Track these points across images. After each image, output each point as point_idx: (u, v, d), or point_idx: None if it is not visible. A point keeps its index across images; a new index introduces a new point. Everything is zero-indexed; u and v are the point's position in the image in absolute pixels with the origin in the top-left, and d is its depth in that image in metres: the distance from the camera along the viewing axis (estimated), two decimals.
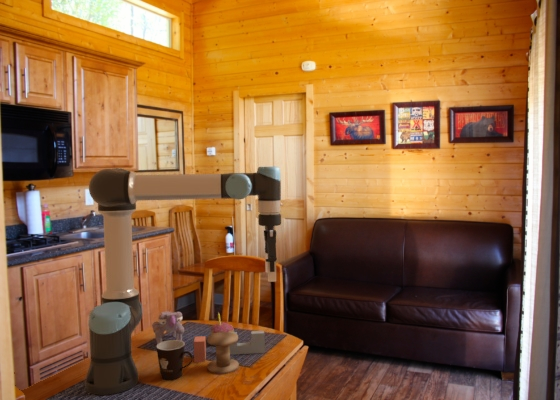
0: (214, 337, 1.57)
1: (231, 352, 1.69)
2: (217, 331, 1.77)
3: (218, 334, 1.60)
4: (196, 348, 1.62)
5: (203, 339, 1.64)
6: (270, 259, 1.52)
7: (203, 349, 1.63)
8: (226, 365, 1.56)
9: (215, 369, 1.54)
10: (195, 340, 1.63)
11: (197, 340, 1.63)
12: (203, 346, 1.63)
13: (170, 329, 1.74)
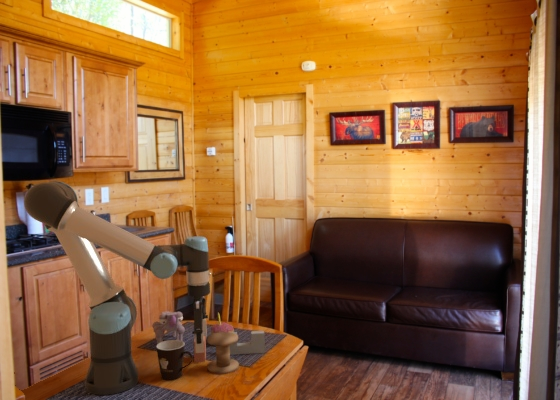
0: (214, 337, 1.57)
1: (231, 352, 1.69)
2: (217, 331, 1.77)
3: (218, 334, 1.60)
4: None
5: None
6: (195, 332, 1.54)
7: None
8: (226, 365, 1.56)
9: (215, 369, 1.54)
10: None
11: None
12: None
13: (170, 329, 1.74)
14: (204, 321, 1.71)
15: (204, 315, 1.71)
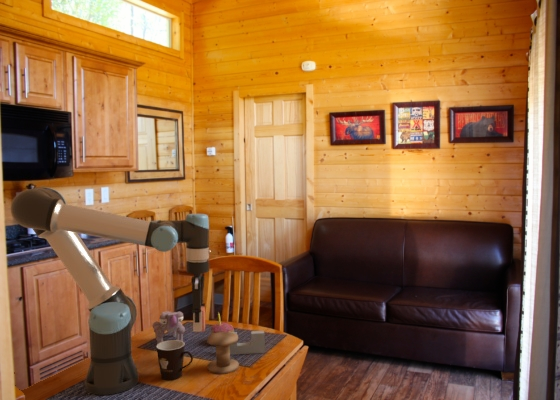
0: (214, 337, 1.57)
1: (231, 352, 1.69)
2: (217, 331, 1.77)
3: (218, 334, 1.60)
4: None
5: (202, 309, 1.64)
6: (194, 311, 1.58)
7: (202, 319, 1.62)
8: (226, 365, 1.56)
9: (215, 369, 1.54)
10: None
11: None
12: (202, 316, 1.62)
13: (171, 329, 1.74)
14: None
15: (201, 300, 1.67)
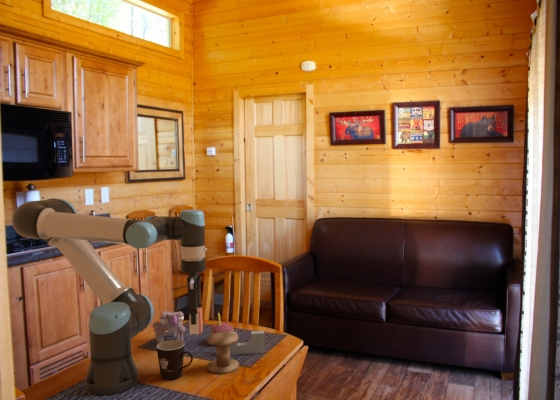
0: (214, 337, 1.57)
1: (231, 352, 1.69)
2: (217, 331, 1.77)
3: (218, 334, 1.60)
4: None
5: (199, 310, 1.55)
6: (190, 312, 1.50)
7: (199, 320, 1.54)
8: (226, 365, 1.56)
9: (215, 369, 1.54)
10: None
11: None
12: (199, 317, 1.54)
13: (172, 329, 1.74)
14: None
15: (198, 301, 1.59)
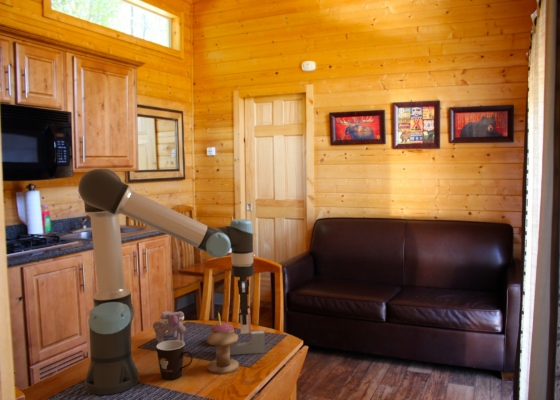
0: (214, 337, 1.57)
1: (231, 352, 1.69)
2: (217, 331, 1.77)
3: (218, 334, 1.60)
4: None
5: (248, 311, 1.69)
6: (242, 313, 1.63)
7: (249, 320, 1.67)
8: (226, 365, 1.56)
9: (215, 369, 1.54)
10: None
11: None
12: (249, 318, 1.67)
13: (172, 329, 1.74)
14: None
15: None
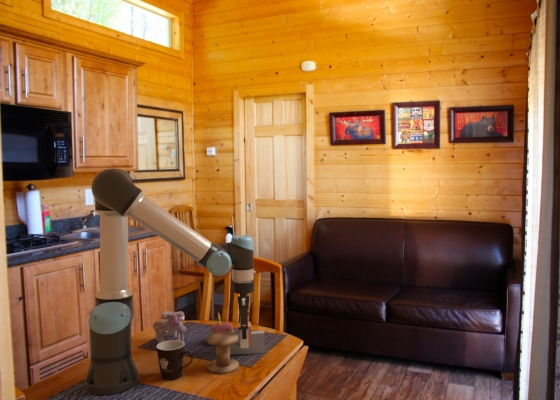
0: (214, 337, 1.57)
1: (231, 352, 1.69)
2: (217, 331, 1.77)
3: (218, 334, 1.60)
4: None
5: (249, 324, 1.69)
6: (242, 328, 1.60)
7: (249, 334, 1.68)
8: (226, 365, 1.56)
9: (215, 369, 1.54)
10: None
11: (243, 325, 1.69)
12: (249, 331, 1.68)
13: (172, 329, 1.74)
14: None
15: None
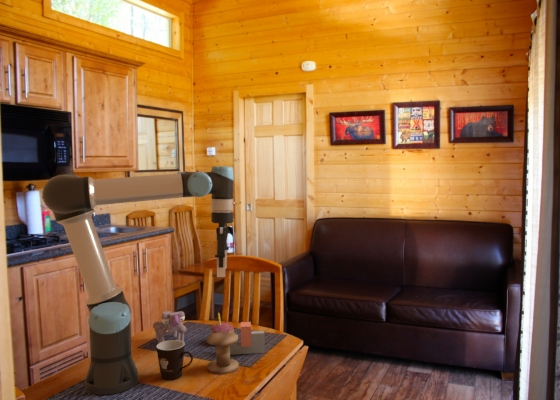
0: (214, 337, 1.57)
1: (231, 352, 1.69)
2: (217, 331, 1.77)
3: (218, 334, 1.60)
4: (242, 333, 1.68)
5: (249, 324, 1.69)
6: (218, 255, 1.58)
7: (249, 334, 1.68)
8: (226, 365, 1.56)
9: (215, 369, 1.54)
10: (241, 325, 1.69)
11: (243, 325, 1.69)
12: (249, 331, 1.68)
13: (173, 329, 1.74)
14: (225, 252, 1.75)
15: (225, 246, 1.75)
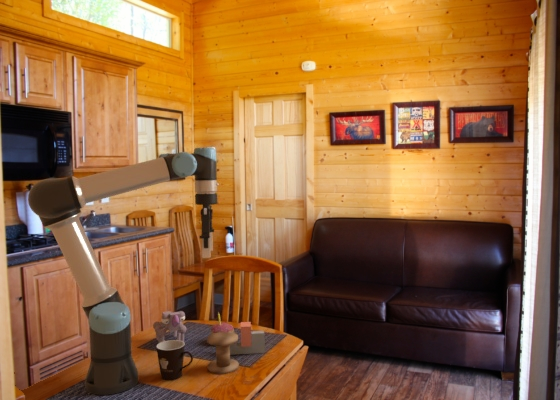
0: (214, 337, 1.57)
1: (231, 352, 1.69)
2: (217, 331, 1.77)
3: (218, 334, 1.60)
4: (242, 333, 1.68)
5: (249, 324, 1.69)
6: (203, 236, 1.59)
7: (249, 334, 1.68)
8: (226, 365, 1.56)
9: (215, 369, 1.54)
10: (241, 325, 1.69)
11: (243, 325, 1.69)
12: (249, 331, 1.68)
13: (173, 329, 1.74)
14: (210, 234, 1.75)
15: (211, 228, 1.75)
